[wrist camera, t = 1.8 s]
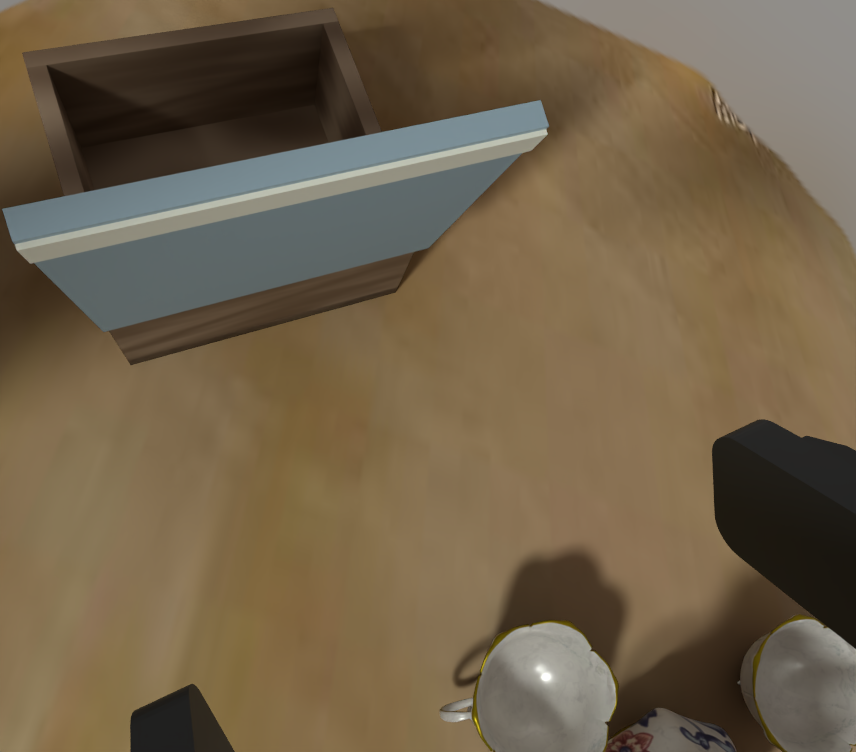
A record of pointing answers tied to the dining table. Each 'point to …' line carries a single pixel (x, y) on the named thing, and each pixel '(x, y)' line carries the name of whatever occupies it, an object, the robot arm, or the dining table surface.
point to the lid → (267, 216)
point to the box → (209, 139)
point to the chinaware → (660, 728)
